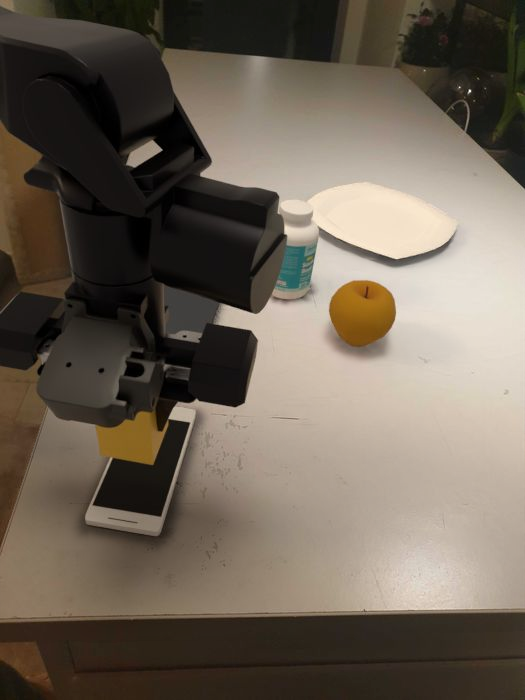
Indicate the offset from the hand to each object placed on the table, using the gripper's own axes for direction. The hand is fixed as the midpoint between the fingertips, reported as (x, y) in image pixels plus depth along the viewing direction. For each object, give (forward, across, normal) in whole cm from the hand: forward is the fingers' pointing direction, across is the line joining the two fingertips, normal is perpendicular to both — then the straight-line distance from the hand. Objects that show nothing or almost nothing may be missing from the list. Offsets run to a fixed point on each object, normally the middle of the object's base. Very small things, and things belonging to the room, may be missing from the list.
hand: (133, 422), depth 44 cm
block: (+2, 0, 0) cm, 2 cm away
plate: (+12, +24, +67) cm, 72 cm away
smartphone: (+12, -1, +4) cm, 12 cm away
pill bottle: (+12, +10, +41) cm, 43 cm away
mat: (+12, -5, +29) cm, 31 cm away
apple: (+12, +21, +31) cm, 39 cm away
